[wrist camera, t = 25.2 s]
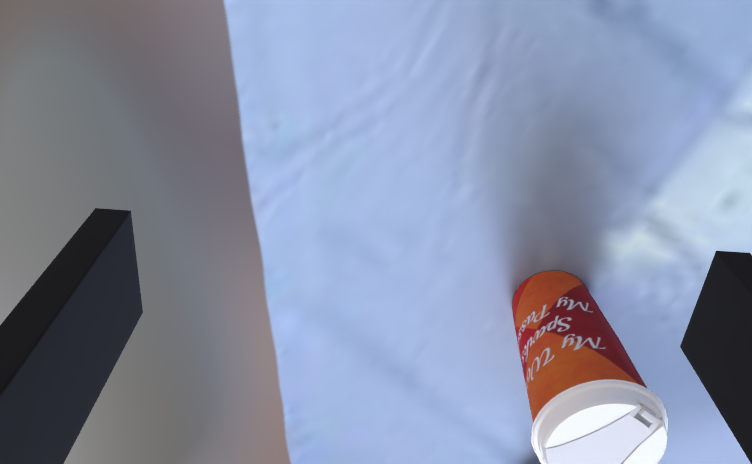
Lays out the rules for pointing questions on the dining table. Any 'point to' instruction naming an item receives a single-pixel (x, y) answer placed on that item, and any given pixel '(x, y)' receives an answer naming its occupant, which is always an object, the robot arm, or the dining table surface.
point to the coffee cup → (582, 379)
